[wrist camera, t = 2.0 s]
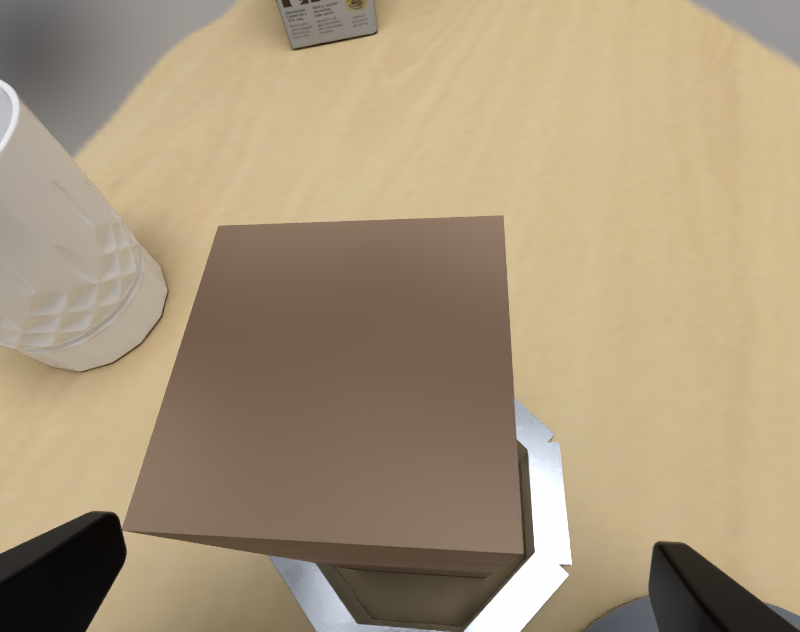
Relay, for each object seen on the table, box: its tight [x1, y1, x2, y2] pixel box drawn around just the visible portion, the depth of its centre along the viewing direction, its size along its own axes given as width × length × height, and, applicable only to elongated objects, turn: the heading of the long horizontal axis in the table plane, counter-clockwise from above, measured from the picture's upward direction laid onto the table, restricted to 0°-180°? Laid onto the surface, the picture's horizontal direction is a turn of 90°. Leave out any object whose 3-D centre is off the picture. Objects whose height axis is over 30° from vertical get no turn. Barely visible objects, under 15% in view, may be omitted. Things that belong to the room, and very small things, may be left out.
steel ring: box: [268, 398, 572, 632], centre depth 16 cm, size 9×9×2 cm
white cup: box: [0, 80, 168, 371], centre depth 19 cm, size 8×8×10 cm
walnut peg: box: [122, 216, 524, 578], centre depth 12 cm, size 4×4×13 cm
